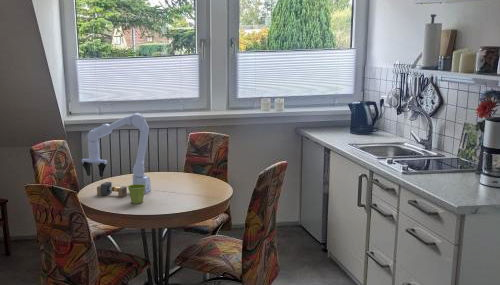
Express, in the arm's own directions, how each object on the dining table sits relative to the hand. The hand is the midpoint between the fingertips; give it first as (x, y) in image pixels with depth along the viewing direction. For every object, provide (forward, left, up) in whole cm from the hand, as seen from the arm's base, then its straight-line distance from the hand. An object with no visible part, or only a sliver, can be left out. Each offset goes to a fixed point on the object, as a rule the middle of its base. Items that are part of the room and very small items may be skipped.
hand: (95, 176), depth 291 cm
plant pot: (-30, +10, -10) cm, 33 cm away
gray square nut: (-7, +1, -10) cm, 12 cm away
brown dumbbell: (-10, +1, -10) cm, 14 cm away
